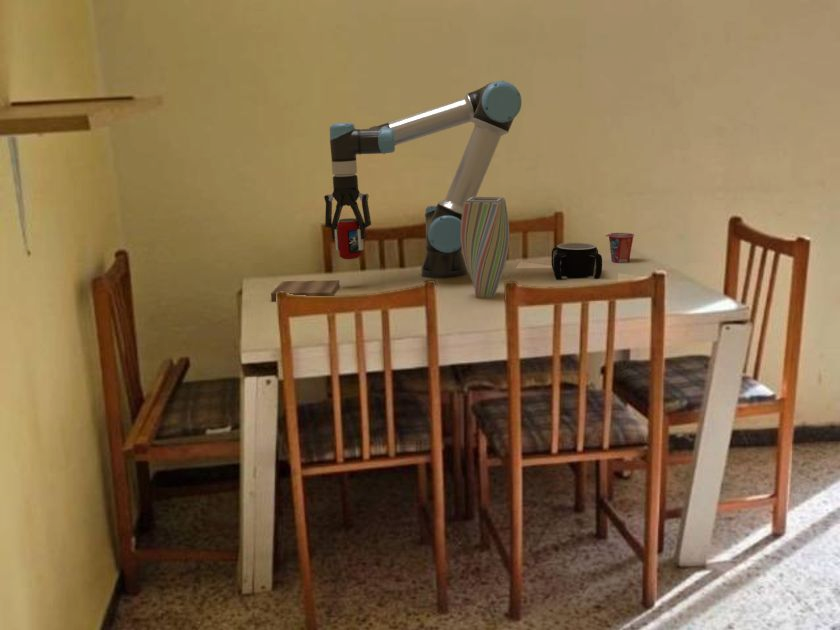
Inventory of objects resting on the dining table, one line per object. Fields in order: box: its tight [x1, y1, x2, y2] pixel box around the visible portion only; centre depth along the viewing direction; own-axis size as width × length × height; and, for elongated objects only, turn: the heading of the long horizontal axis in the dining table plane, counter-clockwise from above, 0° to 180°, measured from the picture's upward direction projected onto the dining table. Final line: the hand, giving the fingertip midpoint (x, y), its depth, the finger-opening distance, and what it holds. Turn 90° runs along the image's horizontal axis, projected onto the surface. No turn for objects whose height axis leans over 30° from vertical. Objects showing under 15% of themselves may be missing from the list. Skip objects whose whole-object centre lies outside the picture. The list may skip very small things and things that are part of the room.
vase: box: [460, 196, 510, 299], centre depth 254 cm, size 14×14×30 cm
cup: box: [605, 232, 635, 264], centre depth 298 cm, size 9×8×12 cm
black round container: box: [550, 242, 603, 281], centre depth 279 cm, size 16×16×12 cm
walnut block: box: [270, 279, 340, 303], centre depth 274 cm, size 18×18×3 cm
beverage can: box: [337, 218, 362, 260], centre depth 276 cm, size 7×7×12 cm
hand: (349, 249), depth 277 cm, fingers closed on beverage can, 7 cm apart
